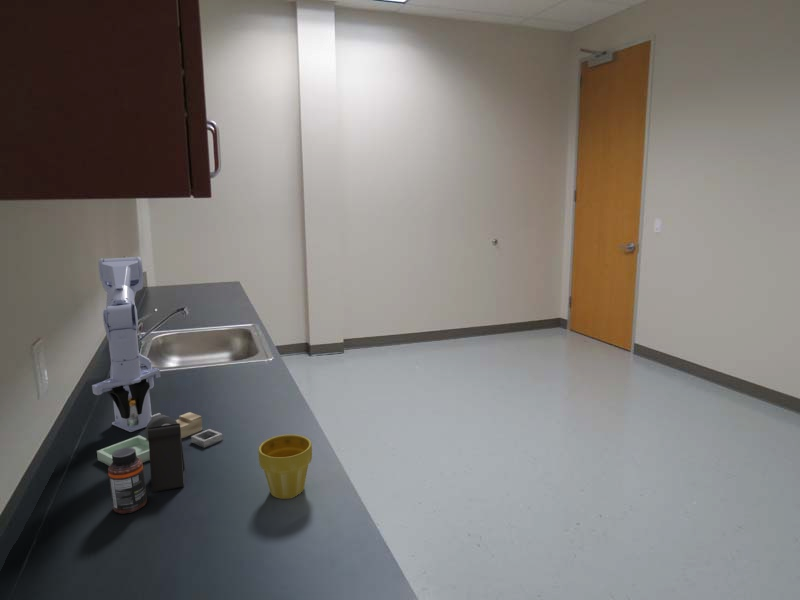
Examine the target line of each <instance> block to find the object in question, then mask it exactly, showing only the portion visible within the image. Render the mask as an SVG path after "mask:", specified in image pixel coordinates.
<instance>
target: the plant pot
mask: <svg viewBox="0 0 800 600" xmlns="http://www.w3.org/2000/svg"><path fill="white" fill-rule="evenodd" d="M312 444H313V443H312V441H311V440H310V439H309V438H308V437H306V436H303V435H299V434H282V435H280V434H279V435H276V436H273V437H270V438H268V439H266V440H264V441H263V442H262V443H261V444H260V445H259V447H258V452H257V453H258V462H259V466H260V468H261V469H262V470H263V472H264V474H265V475H264V476H265V478H266V481H267V484H268V488H269V492H270V494H271V495H272V497H274V498H277V499H281V500H282V499H283V500H286V499H292V497H293V498H295V496H296V497H297V495H298V494H299V495H301V492H302V493H303V491H304V489H305V485H306V478H307V473H308V468H309V464H311V462H312V458H313V445H312ZM299 495H298V496H299Z"/></svg>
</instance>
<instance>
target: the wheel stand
mask: <svg viewBox="0 0 800 600" xmlns="http://www.w3.org/2000/svg"><path fill="white" fill-rule="evenodd" d="M176 420H177V419H175V418H173V417H171V416H168V415H165V414H162V413H160V412H158V413H155V414H153V415H152V416H150V421H149V423H148V424H147V426H146V427H145V431H144V436H145V437H144V438H146V439H147V440H148V428H150V427H157V426H164V425H172V424H177V422H176Z"/></svg>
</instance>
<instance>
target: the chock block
mask: <svg viewBox="0 0 800 600" xmlns="http://www.w3.org/2000/svg"><path fill="white" fill-rule="evenodd" d="M178 417H179V419H175V420H176V422H177V424H179V423H180V430H181V439H182V440H183V439H184V438H187V437H188V436H193V435H195V434H197V433H200V432H202V431H204V430H203V417H202V415H199V414H196V413H193V412H191V411H190V412H186V413H184V414H181V415H179V416H178Z"/></svg>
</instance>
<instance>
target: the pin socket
mask: <svg viewBox="0 0 800 600" xmlns="http://www.w3.org/2000/svg"><path fill="white" fill-rule="evenodd" d="M223 437H224V435H223V433H221V432H219V431H216V430H213V429H211V428H208V429H206V430H202V431H199V432H197V433H194V434H192V435H190V442H191V443H192V444H195V445H197V446H198V447H202V448H207V447H209V446H212V445H215V444H217V443H218V442H221V441H224V438H223Z"/></svg>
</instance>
